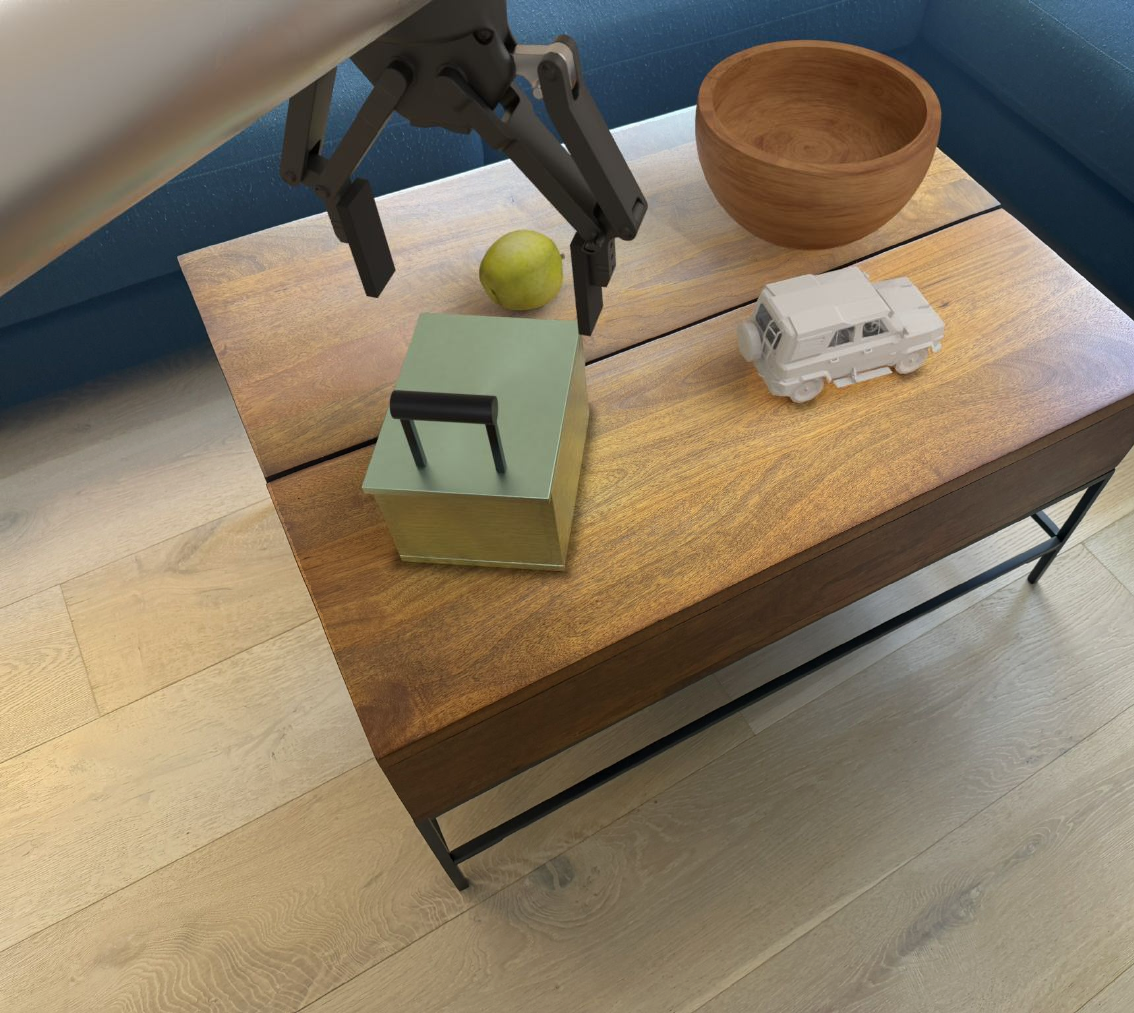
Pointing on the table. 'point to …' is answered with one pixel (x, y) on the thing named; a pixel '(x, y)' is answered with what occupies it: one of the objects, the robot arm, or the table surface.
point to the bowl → (814, 140)
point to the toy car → (837, 331)
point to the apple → (522, 270)
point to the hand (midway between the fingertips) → (484, 302)
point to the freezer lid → (477, 410)
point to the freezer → (498, 511)
